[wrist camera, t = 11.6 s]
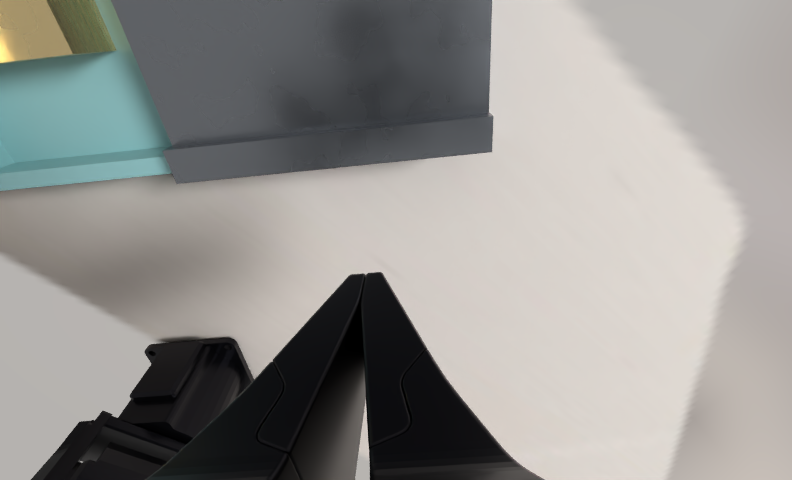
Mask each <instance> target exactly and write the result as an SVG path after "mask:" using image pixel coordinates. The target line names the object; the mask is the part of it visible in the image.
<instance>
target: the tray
mask: <svg viewBox="0 0 792 480" xmlns="http://www.w3.org/2000/svg"><path fill="white" fill-rule="evenodd" d="M95 2H96V5H97V7H98V9H99V11H100V14H101V16H102V18H103V20H104V23H105V25H106V27H107V30H108V32H109V34H110V36H111V39H112V41H113V43H114V46H115V48H116V50H117V51H108V52H99V53H91V54H82V55H73V56H65V57H56V58H47V59H39V60H30V61H22V62H14V63H5V64H0V191H4V190H14V189H24V188H34V187H44V186H53V185H63V184H73V183H83V182H93V181H102V180H112V179H122V178H132V177H142V176H151V175H161V174H171V173H172V172H171V170H170V167H169V165H168V163H167V161H166V158H165V156H164V154H163V150H165V149H167V148H168V147H170V146H172V144H171V142H170V139H169V137H168V134H167V132H166V130H165V127H164V125H163V123H162V120H161V118H160V116H159V113H158V111H157V108H156V106H155V104H154V101H153V99H152V97H151V94H150V92H149V89H148V87H147V85H146V82H145V80H144V78H143V75H142V73H141V70H140V68H139V66H138V63H137V61H136V59H135V56H134V54H133V52H132V49H131V47H130V44H129V42H128V40H127V37H126V35H125V33H124V30H123V28H122V25H121V23H120V21H119V18H118V16H117V14H116V11H115V9H114V6H113V4H112V2H111V0H95Z"/></svg>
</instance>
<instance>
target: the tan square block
mask: <svg viewBox="0 0 792 480" xmlns="http://www.w3.org/2000/svg"><path fill="white" fill-rule="evenodd" d="M108 51H117V50H116V48H115V46H114V43H113V41H112V39H111V36H110V34H109V32H108V30H107V27H106V25H105V23H104V20H103V18H102V16H101V14H100V11H99V9H98V7H97V5H96V2H95V0H0V63H9V62H20V61H30V60H39V59H47V58H56V57H65V56H73V55H82V54H91V53H99V52H108Z"/></svg>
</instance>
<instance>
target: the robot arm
mask: <svg viewBox="0 0 792 480" xmlns="http://www.w3.org/2000/svg"><path fill="white" fill-rule="evenodd" d="M229 345H230V346H229ZM145 354H146V356H147V357H148V359H149V360H150V362H151V363H152V364H151V366H150V367H149V369H148V370H147V371H146V373H145V374H144V376H143V377H142V378H141V380H140V381H139V383H138V384H137V385H136V387H135V388H134V390H133V391H132V393H131V394H130V398H131V401H130V402H129V403H128V405H127V406H126V407H125V409H124V410H123V412H122V413H121V415H120V416H119V417H118V418H116V417H113V416H111V415H112V414H110V413H108V412H105V411H102V412H101V413H100V415H99V416H98V417H97V419H96V420H95V421H94V420H92V421H83V422H79V423H78V424H77V426H76V427H75V428H74V429H73V431H72V432H71V433H70V434H69V436H68V437H67V438H66V439H65V441H64V442H63V443H62V445H61V446H60V447H59V448H58V449H57V451H56V452H55V453H54V454H53V455H52V456H51V457H50V459H49V460H48V461H47V462H46V463H45V464H44V465H43V467H42V468H41V469H40V470H39V471H38V472H37V473H36V474H35V476H34V477H33V478H32V479H31V480H355V474H356V466H357V458H358V452H359V444H360V436H361V429H362V421H363V414H364V406H365V399H366V407H367V424H368V441H369V450H370V451H369V458H370V480H544V479H542V478H541V477H539V476H537V475H536V474H534V473H532V472H531V471H529V470H527V469H526V468H524V467H523V466H522V465H520V464H519V463H518V462H517V461H515V460H514V459H513V458H512V457H511V456H510V455H509V454H508V453H507V452H506V451H505V450H504V449H503V448H502V446H501V445H500V444H499V443H498V442H497V441H496V439H495V438H494V437H493V436H492V435H491V433H490V432H489V431H488V430H487V429H486V427H485V426H484V425H483V424H482V422H481V421H480V420H479V419H478V418H477V416H476V415H475V414H474V413H473V412H472V410H471V409H470V408H469V407H468V405H467V404H466V403H465V402H464V401H463V399H462V398H461V397H460V396H459V394H458V393H457V392H456V390H455V389H454V388H453V387H452V385H451V384H450V383H449V381H448V380H447V379H446V377H445V376H444V374H443V373H442V371H441V370H440V368H439V367H438V365H437V364H436V362H435V360H434V359H433V357H432V355H431V354H430V352H429V351H428V350H427V347H426V346H425V344H424V342H423V341H422V339H421V337H420V335H419V334H418V332H417V330H416V329H415V327H414V325H413V324H412V322H411V320H410V319H409V317H408V315H407V314H406V312H405V310H404V309H403V307H402V305H401V304H400V302H399V300H398V298H397V297H396V295H395V293H394V292H393V290H392V288H391V287H390V285H389V283H388V282H387V280H386V278H385V277H384V275H383V273H381V272H376V273H368V274H366V275H365V274H352V275H350V276H348V277H347V279H346V280H345V281H344V282H343V283H342V284H341V285H340V286H339V287H338V288H337V290H336V291H335V292H334V293H333V294H332V295H331V296H330V297H329V298H328V299H327V301H326V302H325V303H324V304H323V305H322V306H321V307H320V308H319V309H318V311H317V312H316V313H315V314H314V315H313V316H312V317H311V318H310V319H309V320H308V322H307V323H306V324H305V325H304V326H303V327H302V328H301V329H300V330H299V331H298V333H297V334H296V335H295V336H294V337H293V338H292V339H291V340H290V341H289V342H288V344H287V345H286V346H285V347H284V348H283V349H282V350H281V351H280V352H279V353H278V355H277V356H276V357H275V358H274V359H273V362H270V363H269V364H268V365H267V367H266V368H265V369H264V370H263V371H262V372H261V373H260V374H259V375H258V376H257V377H256V378H255V379H254V378H253V376H252V374H251V372H250V370H249V368H248V365H247V363H246V361H245V359H244V357H243V354H242V352H241V350H240V348H239V346H238V344H237V342H236V341H235V340H234V339H231V338H223V339H210V340H198V341H186V342H173V343H161V344H151V345H149V346H148V347H147V349H146V350H145ZM80 461H83V463H81V462H80Z"/></svg>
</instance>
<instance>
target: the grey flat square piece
mask: <svg viewBox="0 0 792 480" xmlns="http://www.w3.org/2000/svg"><path fill="white" fill-rule="evenodd" d="M111 2H112V4H113V6H114V9H115V11H116V14H117V16H118V18H119V21H120V23H121V25H122V28H123V30H124V33H125V35H126V37H127V40H128V42H129V44H130V47H131V49H132V52H133V54H134V56H135V59H136V61H137V63H138V66H139V68H140V70H141V73H142V75H143V78H144V80H145V82H146V85H147V87H148V89H149V92H150V94H151V97H152V99H153V101H154V104H155V106H156V108H157V111H158V113H159V116H160V118H161V120H162V123H163V125H164V127H165V130H166V132H167V134H168V137H169V139H170V142H171V144H172V146H170V147H168V148H167V149H165V150H163V154H164V156H165V158H166V161H167V163H168V165H169V167H170V170H171V172H172V174H173V176H174V179H175V181H176V183H177V184H179V183H189V182H199V181H209V180H219V179H229V178H239V177H249V176H259V175H269V174H279V173H289V172H299V171H308V170H318V169H328V168H338V167H348V166H358V165H368V164H378V163H388V162H398V161H408V160H418V159H428V158H437V157H447V156H457V155H467V154H477V153H487V152H492V135H493V115H491V114H490V113H489V85H490V51H491V17H492V0H111Z"/></svg>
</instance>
